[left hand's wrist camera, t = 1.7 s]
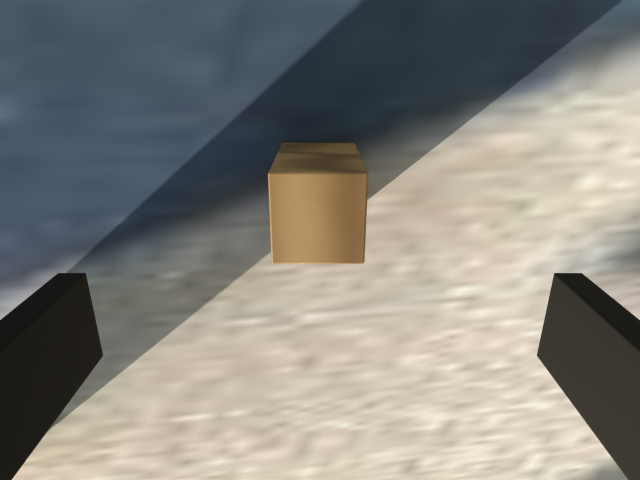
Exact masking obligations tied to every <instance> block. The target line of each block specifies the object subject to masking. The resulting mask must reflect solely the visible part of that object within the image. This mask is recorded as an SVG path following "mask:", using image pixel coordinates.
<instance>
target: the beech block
mask: <svg viewBox="0 0 640 480" xmlns="http://www.w3.org/2000/svg"><path fill="white" fill-rule="evenodd" d="M268 186H269V211H270V236H271V261H272V263H357V264H362V263H364V259H365V236H366V213H367V190H368V173H367V170H366V168H365V166H364V163H363V161H362V159H361V156H360V154H359V152H358V149H357V147H356V145H355V143H282V144H281V146H280V148H279V151H278V153H277V155H276V157H275V159H274V162H273V164H272V166H271V168H270V171H269V173H268Z"/></svg>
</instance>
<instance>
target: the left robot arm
mask: <svg viewBox="0 0 640 480" xmlns="http://www.w3.org/2000/svg"><path fill="white" fill-rule="evenodd" d="M102 356H103V353H102V348H101V344H100V339H99V334H98V329H97V325H96V320H95V315H94V311H93V306H92V301H91V296H90V292H89V287H88V282H87V277H86V273H58V274H57V275H56V276H54V277H53V278H52V279H51V280H49V281H48V282H47V283H46V284H44V285H43V286H42V287H41V288H39V289H38V290H37V291H36V292H35V293H33V294H32V295H31V296H30V297H28V298H27V299H26V300H25V301H23V302H22V303H21V304H20V305H19V306H17V307H16V308H15V309H14V310H12V311H11V312H10V313H9V314H7V315H6V316H5V317H4V318H2V319H1V320H0V480H12V478H13V477H14V476H15V474H16V473H17V472H18V470H19V469H20V468H21V466H22V465H23V464H24V462H25V461H26V459H27V458H28V457H29V455H30V454H31V453H32V451H33V450H34V449H35V447H36V446H37V445H38V443H39V442H40V440H41V439H42V438H43V436H44V435H45V434H46V432H47V431H48V430H49V428H50V427H51V425H52V424H53V423H54V421H55V420H56V419H57V417H58V416H59V415H60V413H61V412H62V411H63V409H64V408H65V406H66V405H67V404H68V402H69V401H70V400H71V398H72V397H73V396H74V394H75V393H76V392H77V390H78V389H79V387H80V386H81V385H82V383H83V382H84V381H85V379H86V378H87V377H88V375H89V374H90V373H91V371H92V370H93V368H94V367H95V366H96V364H97V363H98V362H99V360H100V359H101V358H102ZM537 356H538V358H539V359H540V360H541V362H542V363H543V364H544V366H545V367H546V368H547V370H548V371H549V373H550V374H551V375H552V377H553V378H554V379H555V381H556V382H557V383H558V385H559V386H560V387H561V389H562V390H563V392H564V393H565V394H566V396H567V397H568V398H569V400H570V401H571V402H572V404H573V405H574V406H575V408H576V409H577V411H578V412H579V413H580V415H581V416H582V417H583V419H584V420H585V421H586V423H587V424H588V426H589V427H590V428H591V430H592V431H593V432H594V434H595V435H596V436H597V438H598V439H599V440H600V442H601V443H602V445H603V446H604V447H605V449H606V450H607V451H608V453H609V454H610V455H611V457H612V458H613V459H614V461H615V462H616V464H617V465H618V466H619V468H620V469H621V470H622V472H623V473H624V474H625V476H626V477H627V478H628V480H640V320H639V319H638V318H636V317H635V316H634V315H633V314H631V313H630V312H629V311H628V310H626V309H625V308H624V307H623V306H621V305H620V304H619V303H618V302H617V301H615V300H614V299H613V298H612V297H610V296H609V295H608V294H607V293H605V292H604V291H603V290H602V289H601V288H599V287H598V286H597V285H596V284H594V283H593V282H592V281H591V280H589V279H588V278H587V277H586V276H584V275H583V274H582V273H554V277H553V282H552V287H551V292H550V296H549V301H548V306H547V310H546V315H545V320H544V325H543V329H542V334H541V339H540V344H539V348H538V353H537Z"/></svg>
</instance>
